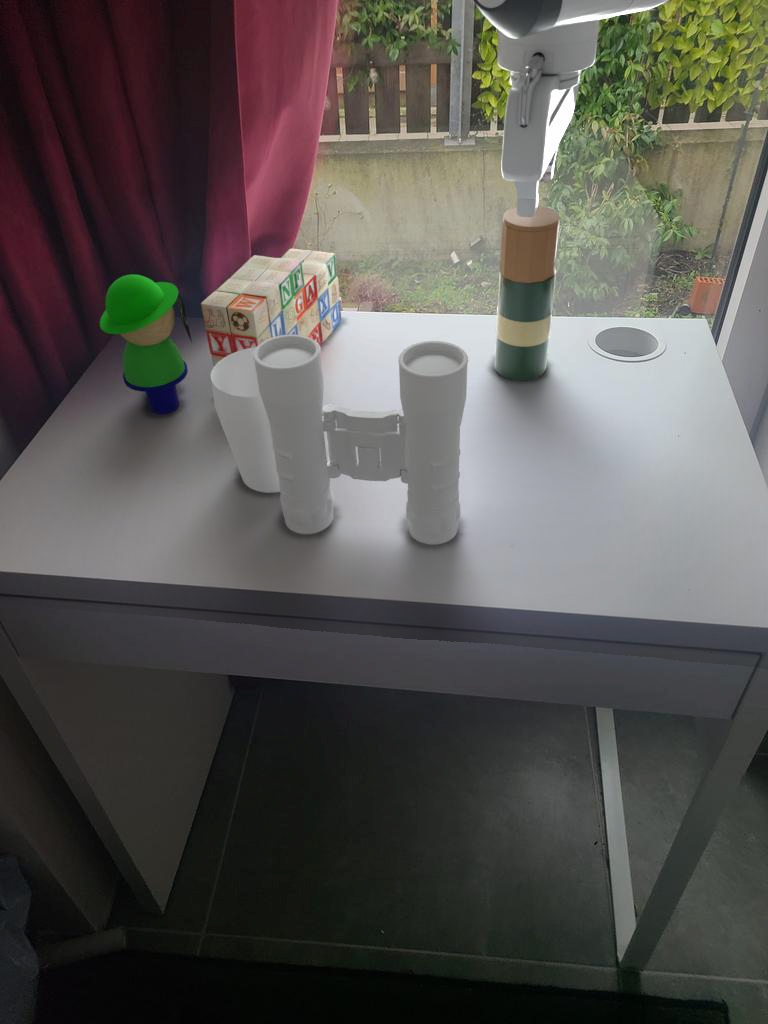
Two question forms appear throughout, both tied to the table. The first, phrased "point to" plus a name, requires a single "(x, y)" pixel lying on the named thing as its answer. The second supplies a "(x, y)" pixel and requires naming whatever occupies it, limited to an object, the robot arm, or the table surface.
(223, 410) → the cup
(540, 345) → the bottle
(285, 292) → the stack of blocks
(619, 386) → the table surface
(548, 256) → the brown cylinder
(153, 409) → the toy
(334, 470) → the binoculars
